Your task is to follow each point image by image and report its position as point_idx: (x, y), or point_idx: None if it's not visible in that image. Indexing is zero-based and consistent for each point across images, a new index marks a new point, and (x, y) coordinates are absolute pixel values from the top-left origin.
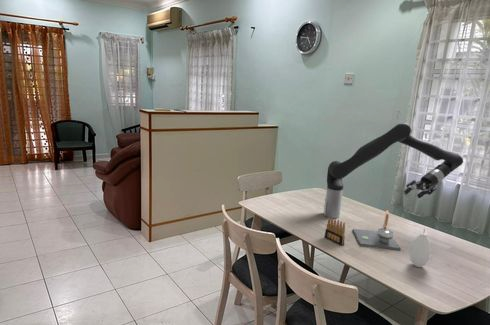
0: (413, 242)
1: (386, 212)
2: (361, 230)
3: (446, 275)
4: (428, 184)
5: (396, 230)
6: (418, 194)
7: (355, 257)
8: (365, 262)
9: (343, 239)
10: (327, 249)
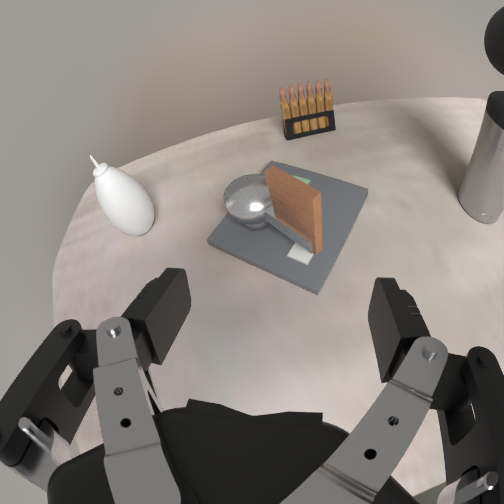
0: (129, 175)
1: (290, 176)
2: (351, 204)
3: (97, 258)
4: (74, 491)
5: (342, 362)
6: (167, 268)
7: (233, 140)
8: (211, 147)
9: (284, 125)
10: (280, 115)
